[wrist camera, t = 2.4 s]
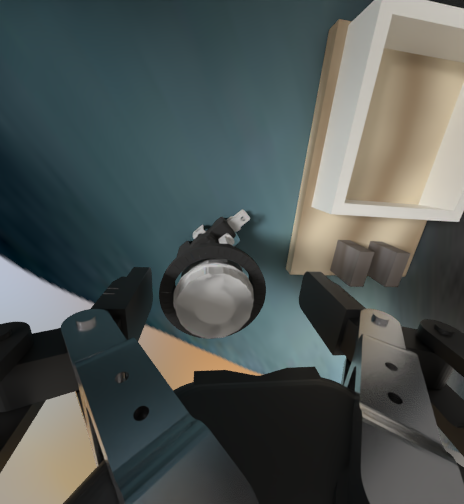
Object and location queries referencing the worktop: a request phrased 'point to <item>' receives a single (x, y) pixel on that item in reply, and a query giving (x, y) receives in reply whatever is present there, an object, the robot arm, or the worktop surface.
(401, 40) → the white open box
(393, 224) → the board
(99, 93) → the worktop surface
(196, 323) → the push button
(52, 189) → the worktop surface
